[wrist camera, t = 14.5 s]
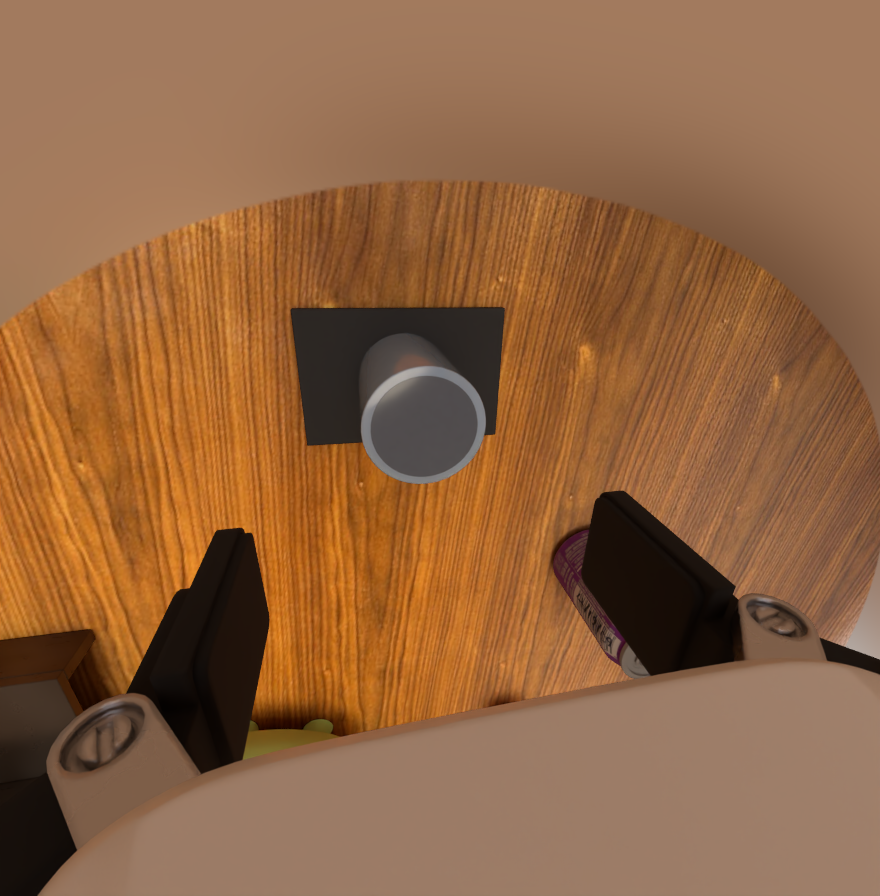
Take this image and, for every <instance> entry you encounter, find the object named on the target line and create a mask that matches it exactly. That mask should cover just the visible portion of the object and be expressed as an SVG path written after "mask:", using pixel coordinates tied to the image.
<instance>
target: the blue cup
mask: <svg viewBox="0 0 880 896" xmlns="http://www.w3.org/2000/svg"><path fill="white" fill-rule="evenodd" d="M358 389H359V407H360V425H361V436H362V441H363V445H364V448H365V450H366V452H367V454H368V456H369V457H370V459H371V460H372V462H373V463H374V464H375V465H376V466H377V467H378V468H379V469H380V470H381V471H382V472H384V473H385V474H387V475H388V476H390V477H392V478H394V479H397V480H400V481H403V482H407V483H415V484H426V483H433V482H437V481H441V480H443V479H446V478H448V477H450V476H452V475H454V474H455V473H457V472H458V471H460V470H461V469H462V468H464V467H465V466H466V465H467V464H468V463H469V462H470V461H471V460H472V458H473V457H474V456H475V454H476V453H477V451H478V449H479V447H480V445H481V443H482V440H483V437H484V433H485V427H486V416H485V409H484V406H483V402H482V400H481V398H480V396H479V394H478V393H477V391H476V389H475V388H474V387H473V386H472V385H471V383H470V382H469V381H468V380H467V379H466V378H465V377H464V376H463V375H462V374H461V373H460V372H459V370H458V369H457V368H456V367H455V366H454V365H453V364H452V363H451V362H450V361H449V360H448V359H447V358H446V356H445V355H444V354H443V353H442V352H441V351H440V350H439V349H438V348H437V347H436V346H435V345H434V344H433V343H432V342H430V341H429V340H427V339H425V338H423V337H421V336H418V335H414V334H407V333H401V334H394V335H390V336H388V337H385V338H383V339H381V340H379V341H378V342H377V343H375V344H374V345H373V346H372V347H371V348H370V349H369V350H368V351H367V353H366V354H365V356H364V357H363V359H362V362H361V364H360V368H359V373H358Z"/></svg>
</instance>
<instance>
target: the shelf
mask: <svg viewBox="0 0 880 896" xmlns="http://www.w3.org/2000/svg"><path fill="white" fill-rule="evenodd" d="M94 641H95V637H94V635H93V632H92V630H82V631H74V632H66V633H58V634H50V635H42V636H34V637H26V638H18V639H10V640H1V641H0V806H1V805H2V804H3V803H5V802H6V801H7V800H9V799H10V798H11V797H13V796H14V795H16V794H17V793H18V792H20V791H21V790H22V789H24V788H25V787H26V786H28V785H29V784H31V783H32V782H33V781H35V780H36V779H37V778H39V777H40V776H41V775H43V774H44V773H45V772H47V764H46V760H47V757H48V754H49V752H50V749H51V746H52V745H53V743H54V742H55V740H56V739H57V737H58V736H59V734H60V733H61V732H62V731H63V730H64V729H65V728H66V727H67V726H68V725H69V724H70V723H71V722H72V721H73V720H74V719H75V718H76V717H77V716H79V715H80V714H81V713H83V712H84V711H83V709H82V708H81V706H80V704H79V702H78V700H77V698H76V696H75V694H74V692H73V690H72V688H71V686H70V684H69V682H68V680H69V678H70V677H71V675H72V674H73V672H74V671H75V669H76V668H77V666H78V665H79V663H80V662H81V660H82V659H83V657H84V656H85V654H86V653H87V651H88V650H89V648H90V647H91V645H92V644H93V642H94Z"/></svg>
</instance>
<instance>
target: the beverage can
mask: <svg viewBox="0 0 880 896" xmlns="http://www.w3.org/2000/svg"><path fill="white" fill-rule="evenodd" d="M588 534H589V529H588V530H584V531H581V532H579V533H577V534H575V535H573V536H572V537H570V538H569V539H568V540H566V541H565V542H564V543H563V544H562V546H561V547H560V548H559V550H558V551H557V553H556V555H555V558H554V562H553V569H554V573H555V575H556V577H557V579H558V580H559V582H560V583H561V585H562V586H563V588H564V590H565V591H566V593H567V594H568V596H569V597H570V599H571V601H572V602H573V604H574V605H575V607H576V608H577V610H578V612H579V613H580V615H581V616H582V618H583V619H584V621H585V622H586V624H587V626H588V627H589V629H590V630H591V632H592V633H593V635H594V637H595V638H596V640H597V641H598V643H599V644H600V646H601V648H602V649H603V651H604V652H605V654H606V655H607V656H608V658H610V659H611V660H612V661H613V662H615V663H617V664H618V665H620V666H621V668H622V669H623V671H624V672H625V674H626V675H628V676H629V677H631V678H634V679H638V678H643V677H649V676H650V674H649V673H648V672H647V670H646V669H645V667H644V666H643V665H642V663H641V662H640V661H639V659H638V658H637V656H636V655H635V654H634V652H633V651H632V649H631V648H630V647H629V645H628V644H627V643H626V641H625V640H624V638H623V637H622V636H621V634H620V633H619V631H618V630H617V629H616V627H615V626H614V624H613V623H612V622H611V620H610V619H609V618H608V616H607V615H606V613H605V612H604V611H603V609H602V608H601V606H600V605H599V604H598V602H597V601H596V599H595V598H594V597H593V595H592V594H591V593H590V591H589V590H588V588H587V587H586V586H585V584H584V582H583V580H582V577H581V568H582V563H583V558H584V553H585V548H586V544H587V539H588Z"/></svg>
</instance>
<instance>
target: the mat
mask: <svg viewBox="0 0 880 896" xmlns="http://www.w3.org/2000/svg"><path fill="white" fill-rule="evenodd" d="M504 311H505V309H504V308H502V307H475V308H292V309H291V317H292V325H293V333H294V341H295V349H296V357H297V365H298V373H299V381H300V390H301V398H302V406H303V414H304V422H305V430H306V438H307V445H308V446H309V445H326V444H343V443H360V442H363V441H362V436H361V425H360V407H359V389H358V373H359V368H360V364H361V362H362V359H363V357H364V356H365V354H366V353H367V351H368V350H369V349H370V348H371V347H372V346H373V345H374V344H375V343H377V342H378V341H379V340H381V339H383V338H385V337H388V336H390V335H394V334H401V333H407V334H414V335H418V336H421V337H423V338H425V339H427V340H429V341H430V342H432V343H433V344H434V345H435V346H436V347H437V348H438V349H439V350H440V351H441V352H442V353H443V354H444V355H445V356H446V358H447V359H448V360H449V361H450V362H451V363H452V364H453V365H454V366H455V367H456V368H457V369H458V370H459V372H460V373H461V374H462V375H463V376H464V377H465V378H466V379H467V380H468V381H469V382H470V383H471V385H472V386H473V387H474V388H475V389H476V391H477V393H478V394H479V396H480V398H481V400H482V402H483V406H484V409H485V416H486V427H485V433H484V435H493V434H495V430H496V417H497V404H498V390H499V377H500V364H501V351H502V338H503V324H504Z"/></svg>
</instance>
